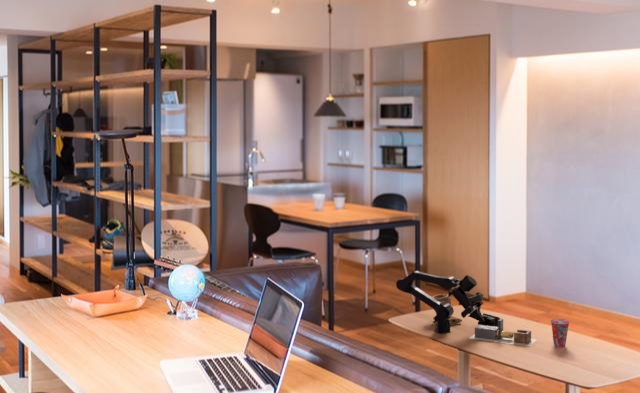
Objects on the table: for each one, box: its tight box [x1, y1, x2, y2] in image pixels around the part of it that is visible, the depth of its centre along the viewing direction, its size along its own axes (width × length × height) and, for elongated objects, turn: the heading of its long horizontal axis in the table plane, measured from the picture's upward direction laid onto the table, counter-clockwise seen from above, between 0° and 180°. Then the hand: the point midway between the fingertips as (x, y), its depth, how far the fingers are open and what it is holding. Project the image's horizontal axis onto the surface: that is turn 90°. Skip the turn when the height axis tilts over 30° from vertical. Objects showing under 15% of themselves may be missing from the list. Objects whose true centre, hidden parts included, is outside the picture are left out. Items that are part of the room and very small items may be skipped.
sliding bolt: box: [496, 318, 514, 339], centre depth 393 cm, size 17×4×9 cm, turn 60°
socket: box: [513, 329, 532, 344], centre depth 386 cm, size 6×7×5 cm
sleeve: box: [474, 324, 498, 340], centre depth 395 cm, size 10×6×5 cm, turn 60°
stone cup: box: [431, 293, 463, 326], centre depth 425 cm, size 15×12×15 cm
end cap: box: [477, 313, 501, 327], centre depth 413 cm, size 10×7×7 cm
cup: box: [550, 318, 570, 348], centre depth 379 cm, size 9×8×12 cm
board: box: [468, 333, 538, 347], centre depth 391 cm, size 30×13×1 cm, turn 60°
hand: (483, 322), depth 395 cm, fingers closed
